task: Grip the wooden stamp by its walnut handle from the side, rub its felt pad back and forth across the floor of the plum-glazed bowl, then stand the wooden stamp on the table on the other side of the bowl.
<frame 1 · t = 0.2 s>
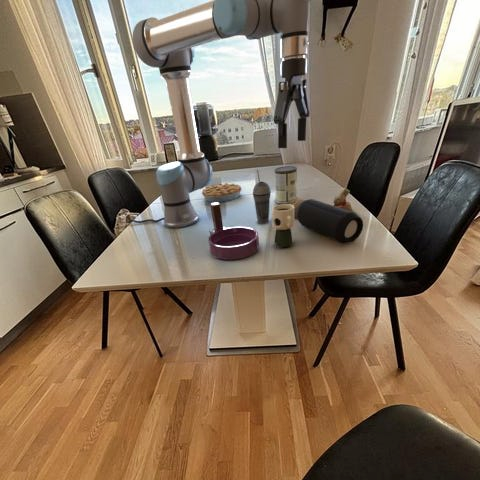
hand: (292, 144, 95), 28 cm above the table, tool pointing down, fingers open, 13 cm apart
coffee can: (285, 200, 138), on the table
pie: (222, 197, 155), on the table
character mug: (283, 245, 99), on the table
wooden stamp: (219, 236, 111), on the table
bread roll: (298, 214, 121), on the table
portable speaker: (325, 234, 103), on the table
chocolate bunny: (342, 212, 118), on the table
bowl: (234, 249, 100), on the table
beverage cup: (263, 222, 119), on the table
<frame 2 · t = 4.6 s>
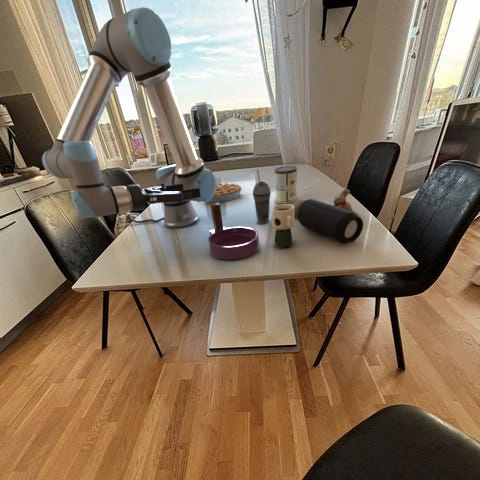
hand: (191, 190, 97), 19 cm above the table, tool horizontal, fingers open, 13 cm apart
nothing on the table moved.
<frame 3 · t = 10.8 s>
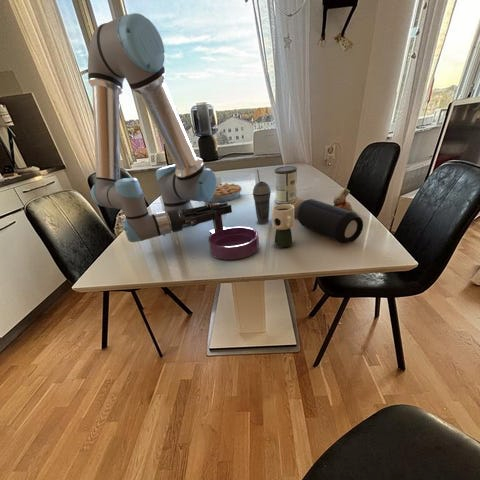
hand: (229, 207, 106), 10 cm above the table, tool horizontal, fingers closed on wooden stamp, 3 cm apart
wooden stamp: (219, 236, 111), on the table, touching gripper
everything else where it was.
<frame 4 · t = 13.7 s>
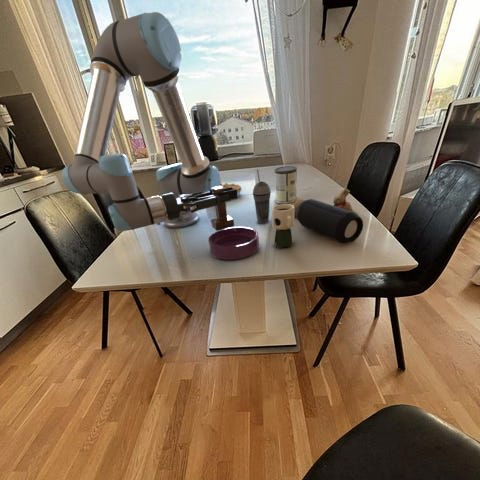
hand: (234, 192, 92), 18 cm above the table, tool horizontal, fingers closed on wooden stamp, 3 cm apart
wooden stamp: (223, 226, 96), point 8 cm above the table, touching gripper
everything else where it was.
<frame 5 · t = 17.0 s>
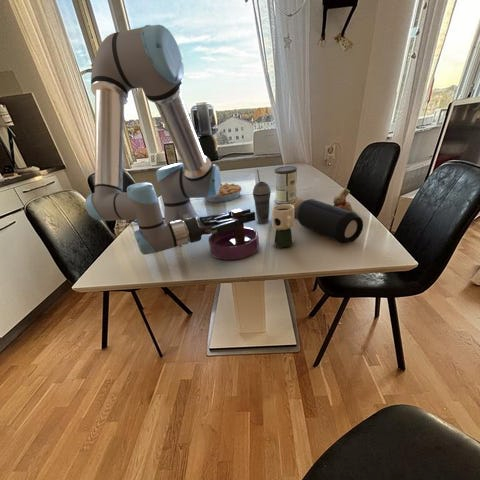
hand: (252, 214, 95), 11 cm above the table, tool horizontal, fingers closed on wooden stamp, 3 cm apart
wooden stamp: (240, 246, 100), point 1 cm above the table, touching gripper
everything else where it was.
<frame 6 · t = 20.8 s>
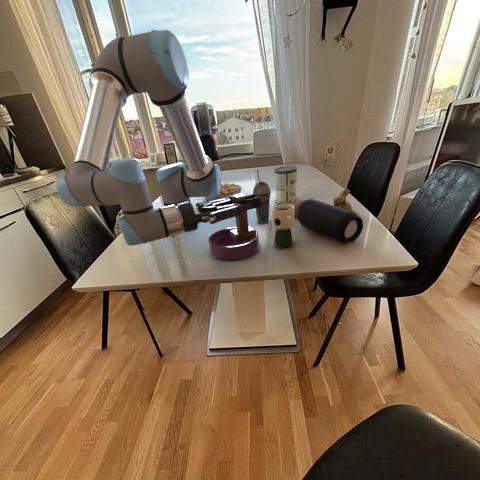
hand: (257, 200, 82), 18 cm above the table, tool horizontal, fingers closed on wooden stamp, 3 cm apart
wooden stamp: (243, 237, 87), point 8 cm above the table, touching gripper
everything else where it was.
when the fingers open (10 cm above the table, at t = 23.5 s): wooden stamp stays where it is, on the table.
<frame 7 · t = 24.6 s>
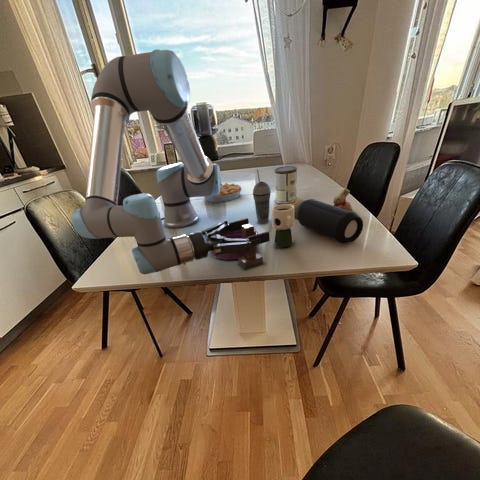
hand: (258, 228, 84), 11 cm above the table, tool horizontal, fingers open, 13 cm apart
wooden stamp: (250, 264, 90), on the table
everything else where it was.
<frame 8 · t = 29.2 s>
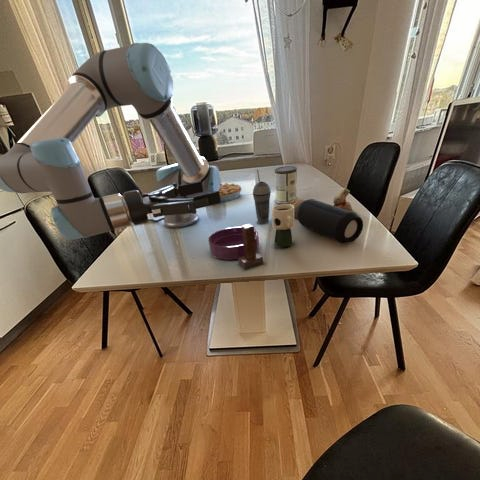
hand: (210, 191, 73), 24 cm above the table, tool horizontal, fingers open, 13 cm apart
nothing on the table moved.
at the end: wooden stamp 0.1 cm from the target spot, on the table; wooden stamp tilted 0°; bowl moved 0.0 cm from its start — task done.
